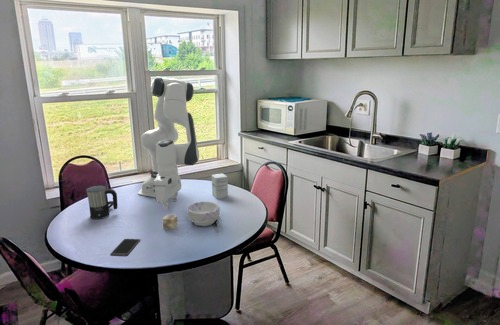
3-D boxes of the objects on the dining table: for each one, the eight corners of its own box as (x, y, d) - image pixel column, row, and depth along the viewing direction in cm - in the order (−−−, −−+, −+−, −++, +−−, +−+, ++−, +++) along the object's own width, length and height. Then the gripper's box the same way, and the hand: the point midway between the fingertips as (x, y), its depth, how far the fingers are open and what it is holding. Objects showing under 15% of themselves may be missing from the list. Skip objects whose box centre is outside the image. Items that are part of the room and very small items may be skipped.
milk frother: (92, 221, 172) (88, 192, 169) (83, 211, 184) (80, 184, 181) (121, 213, 181) (118, 186, 177) (111, 205, 193) (108, 179, 189)
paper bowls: (214, 230, 161) (214, 214, 159) (183, 227, 164) (182, 211, 162) (223, 217, 176) (223, 202, 174) (195, 214, 179) (194, 200, 177)
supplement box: (212, 195, 206) (211, 174, 203) (223, 193, 209) (223, 172, 206) (216, 199, 200) (215, 178, 197) (228, 197, 203) (227, 176, 200)
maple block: (163, 228, 163) (162, 218, 162) (167, 224, 168) (167, 214, 167) (173, 229, 162) (172, 219, 161) (177, 225, 167) (177, 215, 166)
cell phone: (109, 256, 140) (109, 254, 140) (124, 239, 154) (124, 238, 153) (127, 257, 140) (127, 255, 139) (141, 240, 153) (140, 239, 153)
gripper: (171, 169, 169) (173, 197, 173) (151, 182, 150) (154, 212, 153) (183, 170, 168) (185, 197, 172) (165, 183, 149) (168, 213, 152)
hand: (170, 204), depth 162 cm, fingers open, 8 cm apart
